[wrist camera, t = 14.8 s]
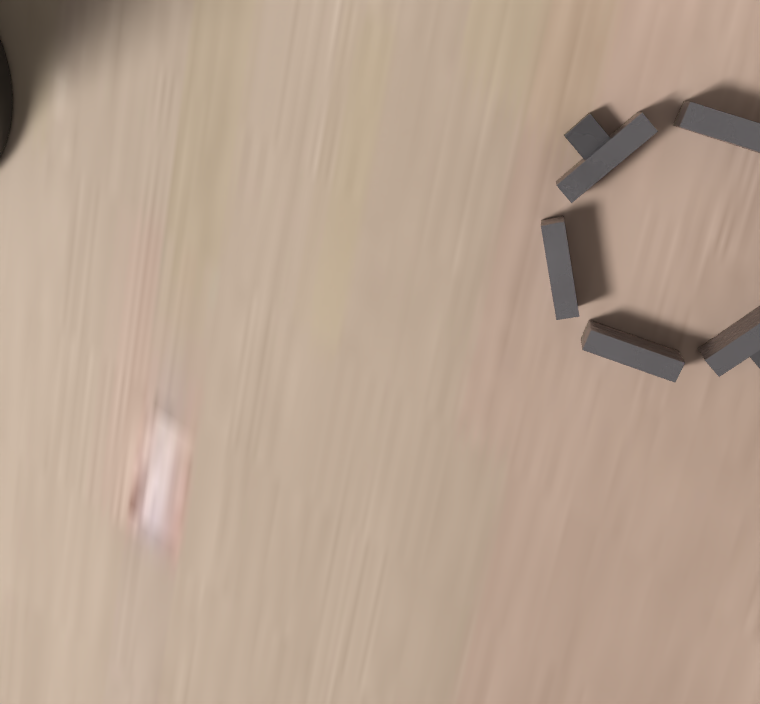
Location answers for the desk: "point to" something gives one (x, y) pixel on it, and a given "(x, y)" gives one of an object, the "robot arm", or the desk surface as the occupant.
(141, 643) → the desk surface
